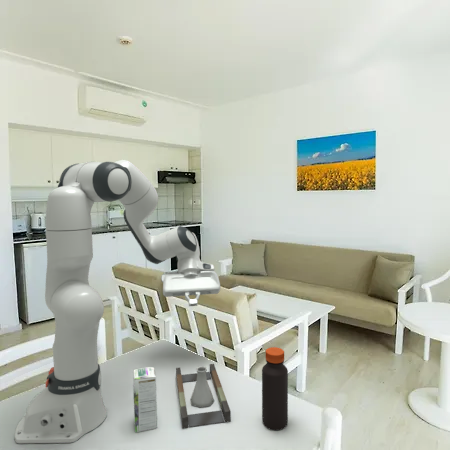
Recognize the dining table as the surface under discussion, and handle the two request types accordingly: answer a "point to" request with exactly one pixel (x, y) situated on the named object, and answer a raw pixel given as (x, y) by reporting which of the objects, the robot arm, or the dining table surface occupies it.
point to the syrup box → (145, 399)
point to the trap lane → (206, 417)
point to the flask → (201, 390)
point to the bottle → (274, 390)
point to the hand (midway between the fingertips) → (193, 305)
